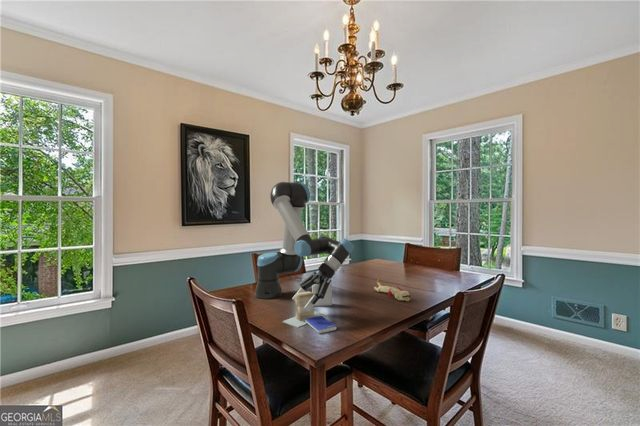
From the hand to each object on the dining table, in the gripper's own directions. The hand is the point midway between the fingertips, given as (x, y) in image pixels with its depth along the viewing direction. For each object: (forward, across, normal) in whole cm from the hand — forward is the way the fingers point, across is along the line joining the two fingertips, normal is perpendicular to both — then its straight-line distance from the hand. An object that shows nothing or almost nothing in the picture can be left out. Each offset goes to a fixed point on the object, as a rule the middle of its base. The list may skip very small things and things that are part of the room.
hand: (300, 304), depth 133 cm
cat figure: (-36, +7, -46) cm, 59 cm away
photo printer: (-8, +13, -18) cm, 23 cm away
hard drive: (+2, -11, -8) cm, 13 cm away
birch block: (+3, 0, -6) cm, 7 cm away
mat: (+3, 0, -6) cm, 7 cm away
